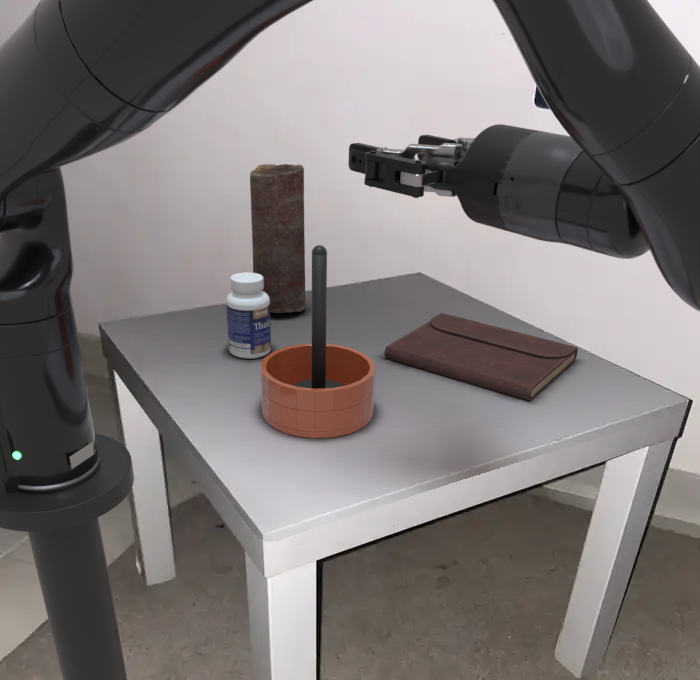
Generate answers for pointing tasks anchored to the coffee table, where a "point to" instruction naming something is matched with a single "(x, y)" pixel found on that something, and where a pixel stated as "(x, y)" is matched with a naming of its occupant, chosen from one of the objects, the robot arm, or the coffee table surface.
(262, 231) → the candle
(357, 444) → the coffee table surface
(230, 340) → the pill bottle
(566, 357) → the notebook
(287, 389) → the bowl
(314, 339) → the paper towel holder
